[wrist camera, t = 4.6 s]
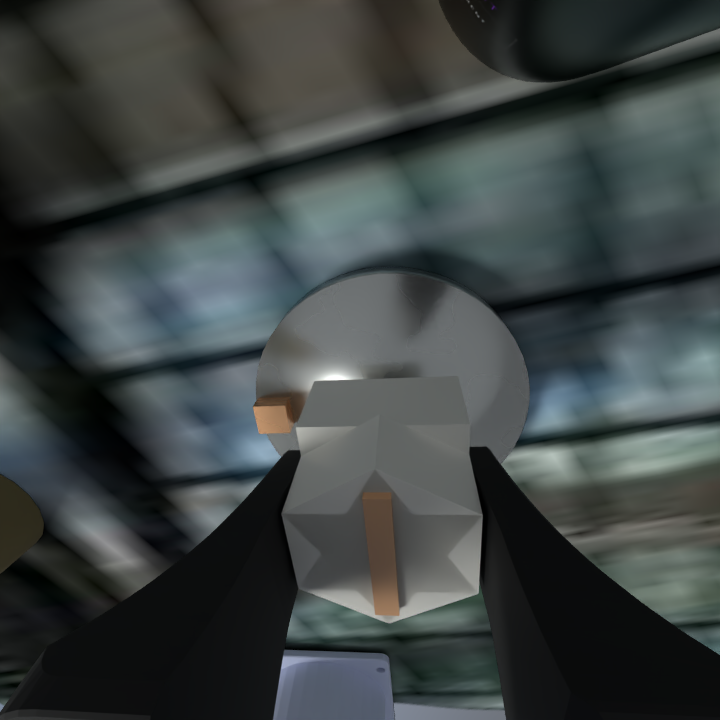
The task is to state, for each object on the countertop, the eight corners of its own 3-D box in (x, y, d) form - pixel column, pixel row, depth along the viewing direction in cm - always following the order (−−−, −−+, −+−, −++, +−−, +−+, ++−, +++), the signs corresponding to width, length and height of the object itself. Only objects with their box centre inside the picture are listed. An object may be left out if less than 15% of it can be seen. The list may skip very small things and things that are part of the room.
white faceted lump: (456, 496, 14) (477, 634, 10) (331, 495, 15) (304, 628, 11) (458, 365, 12) (487, 474, 8) (312, 371, 13) (268, 475, 9)
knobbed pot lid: (512, 489, 18) (534, 553, 15) (286, 491, 19) (266, 550, 16) (534, 256, 13) (571, 283, 11) (239, 276, 15) (200, 306, 12)
